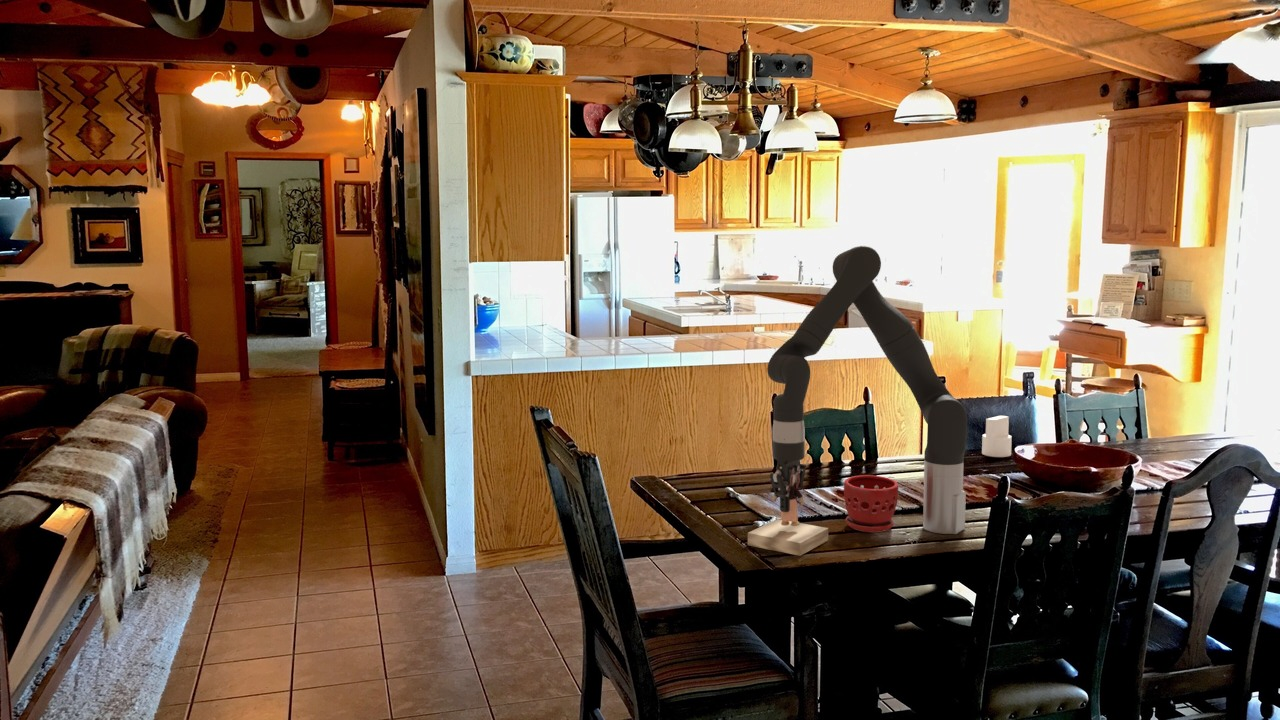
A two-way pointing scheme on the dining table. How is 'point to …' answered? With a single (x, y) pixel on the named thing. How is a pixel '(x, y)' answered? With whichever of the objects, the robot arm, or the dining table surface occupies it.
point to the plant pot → (870, 502)
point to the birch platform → (788, 537)
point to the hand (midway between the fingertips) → (788, 509)
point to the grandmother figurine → (791, 506)
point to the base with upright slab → (997, 437)
